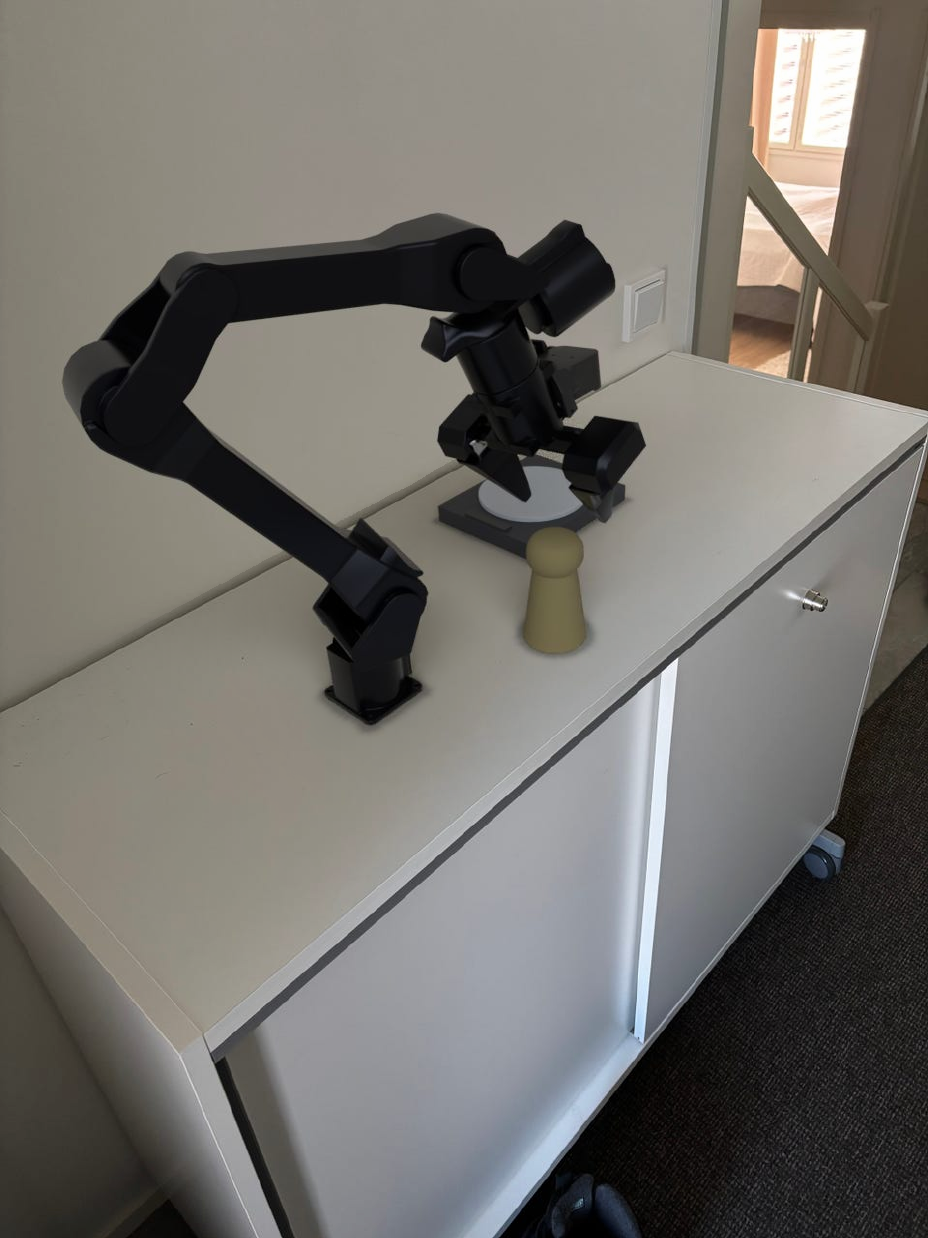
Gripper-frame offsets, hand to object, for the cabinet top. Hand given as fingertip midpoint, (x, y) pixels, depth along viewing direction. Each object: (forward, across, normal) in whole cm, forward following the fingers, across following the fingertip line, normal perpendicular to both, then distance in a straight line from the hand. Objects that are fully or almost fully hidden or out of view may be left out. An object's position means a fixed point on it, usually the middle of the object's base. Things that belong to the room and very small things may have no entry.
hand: (565, 508), depth 83 cm
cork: (+10, 0, +7) cm, 13 cm away
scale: (+14, +17, -9) cm, 24 cm away
